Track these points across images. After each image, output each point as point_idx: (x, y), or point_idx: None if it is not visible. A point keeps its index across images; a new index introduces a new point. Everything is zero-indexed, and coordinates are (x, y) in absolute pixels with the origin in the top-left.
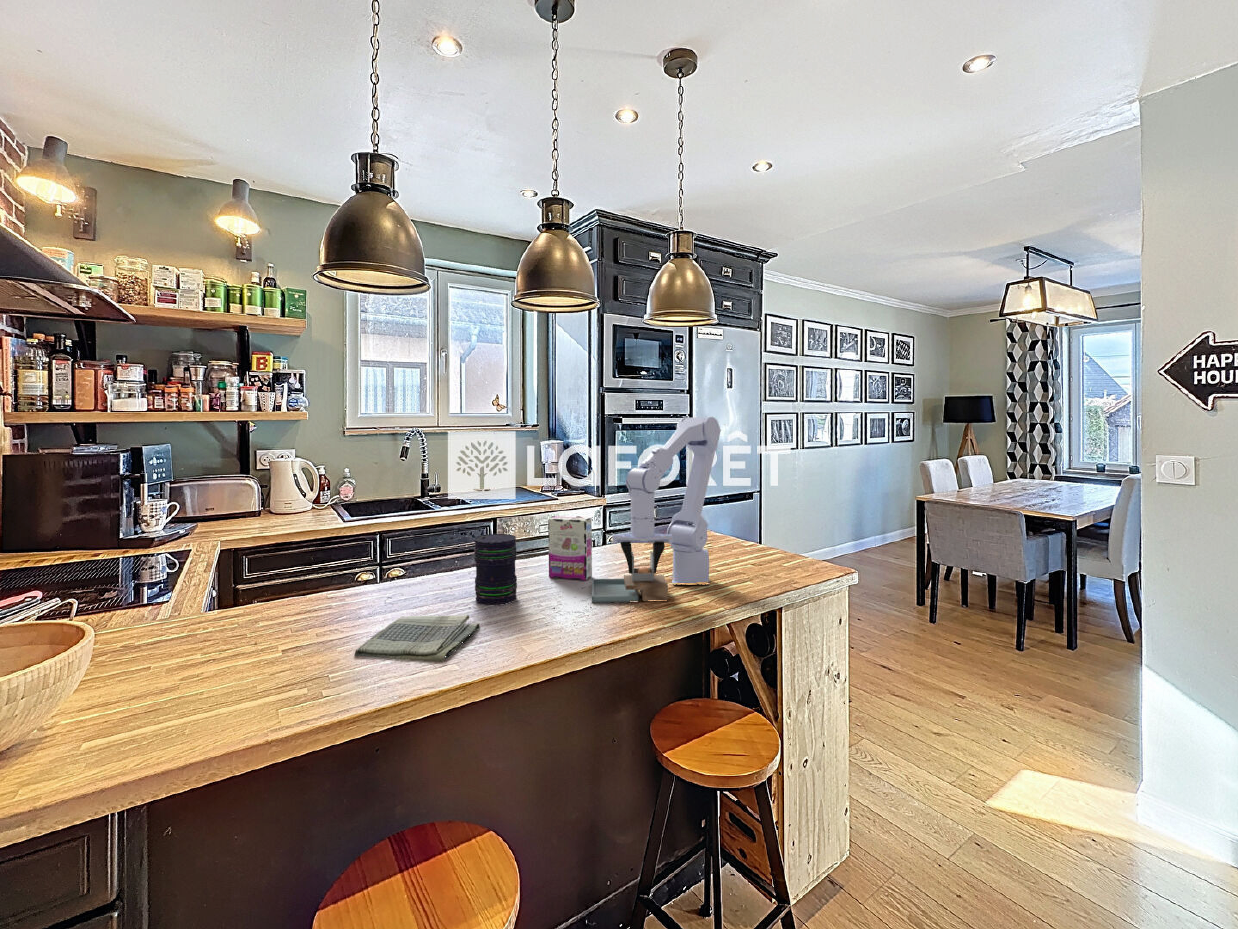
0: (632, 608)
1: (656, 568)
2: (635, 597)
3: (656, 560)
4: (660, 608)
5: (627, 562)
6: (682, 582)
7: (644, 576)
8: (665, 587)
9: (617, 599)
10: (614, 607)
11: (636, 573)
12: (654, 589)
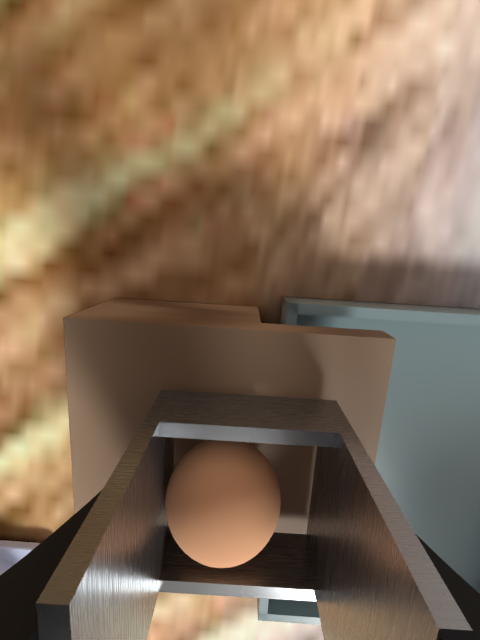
0: (335, 197)
1: (99, 492)
2: (305, 303)
3: (46, 566)
4: (171, 181)
5: (456, 575)
6: (1, 563)
7: (237, 414)
8: (90, 315)
9: (413, 307)
10: (436, 227)
11: (314, 441)
12: (175, 317)
